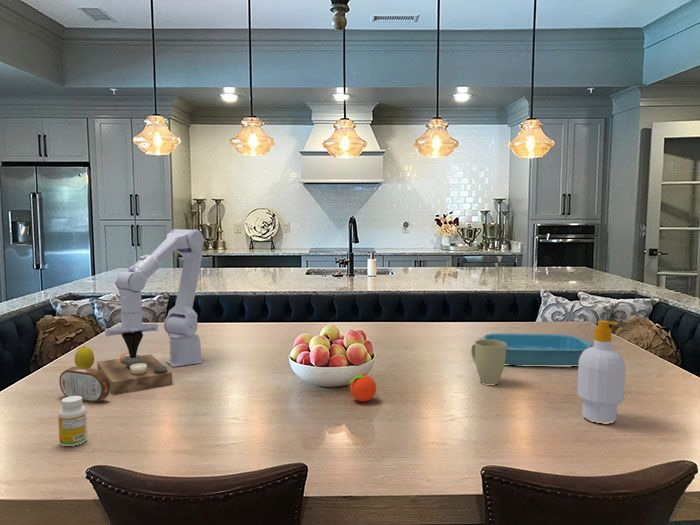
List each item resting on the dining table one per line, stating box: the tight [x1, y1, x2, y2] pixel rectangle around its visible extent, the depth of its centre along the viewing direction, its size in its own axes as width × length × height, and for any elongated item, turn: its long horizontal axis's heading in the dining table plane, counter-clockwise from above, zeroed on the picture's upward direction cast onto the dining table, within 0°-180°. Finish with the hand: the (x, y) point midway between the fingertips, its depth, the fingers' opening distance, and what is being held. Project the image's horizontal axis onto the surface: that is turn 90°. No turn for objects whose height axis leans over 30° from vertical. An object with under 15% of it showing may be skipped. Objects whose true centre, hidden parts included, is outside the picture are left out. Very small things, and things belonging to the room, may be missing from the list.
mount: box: [96, 353, 173, 395], centre depth 163 cm, size 16×24×5 cm, turn 34°
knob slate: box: [125, 354, 142, 369], centre depth 163 cm, size 4×4×5 cm
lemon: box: [74, 345, 95, 369], centre depth 170 cm, size 6×6×8 cm
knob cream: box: [130, 363, 147, 375], centre depth 157 cm, size 4×4×5 cm
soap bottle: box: [576, 319, 626, 422], centre depth 132 cm, size 10×10×24 cm
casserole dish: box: [478, 332, 594, 365], centre depth 185 cm, size 37×22×7 cm, turn 85°
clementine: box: [347, 374, 377, 403], centre depth 145 cm, size 8×7×7 cm
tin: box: [59, 366, 111, 403], centre depth 145 cm, size 15×3×8 cm, turn 71°
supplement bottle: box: [57, 396, 88, 447], centre depth 118 cm, size 5×5×10 cm
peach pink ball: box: [119, 352, 130, 364], centre depth 169 cm, size 4×4×5 cm
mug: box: [470, 339, 507, 385], centre depth 161 cm, size 11×10×12 cm
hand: (132, 357), depth 163 cm, fingers closed, pressing on knob slate
